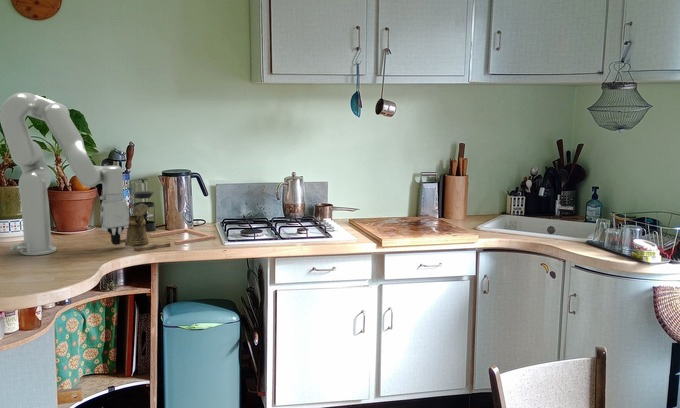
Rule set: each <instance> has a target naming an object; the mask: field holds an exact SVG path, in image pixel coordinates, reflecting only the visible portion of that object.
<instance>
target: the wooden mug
mask: <svg viewBox="0 0 680 408" xmlns="http://www.w3.org/2000/svg"><path fill="white" fill-rule="evenodd" d="M148 211H149V208H148V206H147V205H146V204H144V203H140V204H138V205H136V206H135V207H133V209H132V214H133V215H130V216H129V220H130V223H129V225H128V226H129V227H128V228H126V236H125V238H126V240H125V242H124V245H125V246H130V247H139V246H145V245H149V238H148V235H147V232H146V228H145V224H146V222H145V219H144V215H145V214H146V213H147V214H148Z"/></svg>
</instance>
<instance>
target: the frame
mask: <svg viewBox="0 0 680 408" xmlns="http://www.w3.org/2000/svg"><path fill="white" fill-rule="evenodd" d="M183 233H187V234H191V235H195V236H197V237H194V238H187V239H180V240H175V241H174V245H176V246H179V245H185V244H192V243H196V242H197V243H198V242H203V241H208V240H209V241H210V240H216V235H214V234H209V233H206V232H202V231H198V230H194V229H191V228H187V227H186V228H181V229H173V230H168V231H161V232H160V231H159V232H154V233H150V234H149V236H150V238H158V237H164V236H171V235H177V234H183Z"/></svg>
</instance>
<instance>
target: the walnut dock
mask: <svg viewBox="0 0 680 408" xmlns="http://www.w3.org/2000/svg"><path fill="white" fill-rule="evenodd" d="M125 240H126V237H120V244H123V243H125ZM169 247H171V243H170V242H167V241H165V242H159V243H152V244H146V245H140V246H133V251H135V252H139V253H140V252H144V251H150V250H157V249H162V248H169Z"/></svg>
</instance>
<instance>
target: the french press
mask: <svg viewBox="0 0 680 408" xmlns="http://www.w3.org/2000/svg"><path fill="white" fill-rule="evenodd" d="M137 180H138V181H141V184H142V190H139V191H133V192H132V194H133V198H134V199H142V200H143V201H138V202H134V203H129V204H128V212H129V216H131V206H133V208H134V207H135V206H136V205H138V204H140V203H144V204H146V205H147V206H148V209H149V208H153V214H151V213H150V214H149V213H148V212H147V213H146V214H145V215H144V219H145V222H146V224H145V228H146V233H148V232H150V233H151V232H154V231H157V230H156V229H157V228H156V210H155V209H156V206H155V202H154V201H145V199H150V198H151V197H152V196H153V194H154V193H155V191H152V190H145V189H144V184H145V181H147V180H148V178H145V177H144V178H138V179H137ZM152 218H153V219H154V220H148V219H152Z"/></svg>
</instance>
